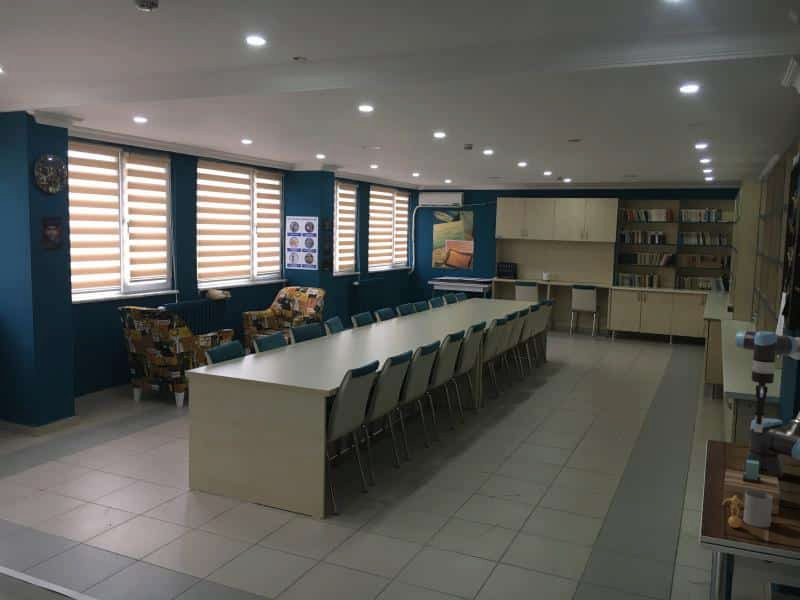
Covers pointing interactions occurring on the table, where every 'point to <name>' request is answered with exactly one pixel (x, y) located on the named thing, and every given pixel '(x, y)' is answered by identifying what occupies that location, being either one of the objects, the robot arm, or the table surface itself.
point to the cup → (758, 508)
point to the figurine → (735, 520)
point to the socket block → (750, 487)
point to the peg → (752, 469)
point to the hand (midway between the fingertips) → (758, 431)
